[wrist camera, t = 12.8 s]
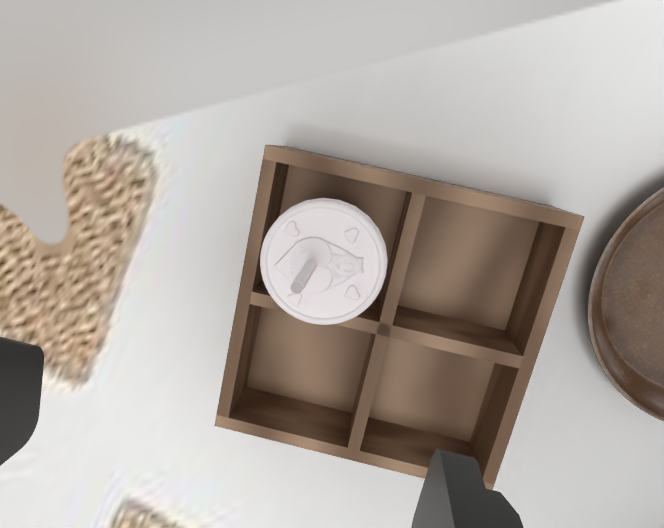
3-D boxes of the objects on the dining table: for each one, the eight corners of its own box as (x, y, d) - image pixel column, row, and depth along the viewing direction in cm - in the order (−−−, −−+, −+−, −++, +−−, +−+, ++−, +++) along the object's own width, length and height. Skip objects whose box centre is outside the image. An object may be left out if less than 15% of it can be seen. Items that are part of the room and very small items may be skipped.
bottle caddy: (552, 206, 34) (584, 216, 28) (475, 446, 38) (490, 495, 32) (283, 145, 34) (265, 144, 29) (237, 387, 39) (214, 425, 33)
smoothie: (290, 186, 34) (228, 210, 20) (386, 185, 33) (389, 208, 20) (293, 279, 35) (238, 360, 22) (386, 279, 35) (389, 362, 21)
